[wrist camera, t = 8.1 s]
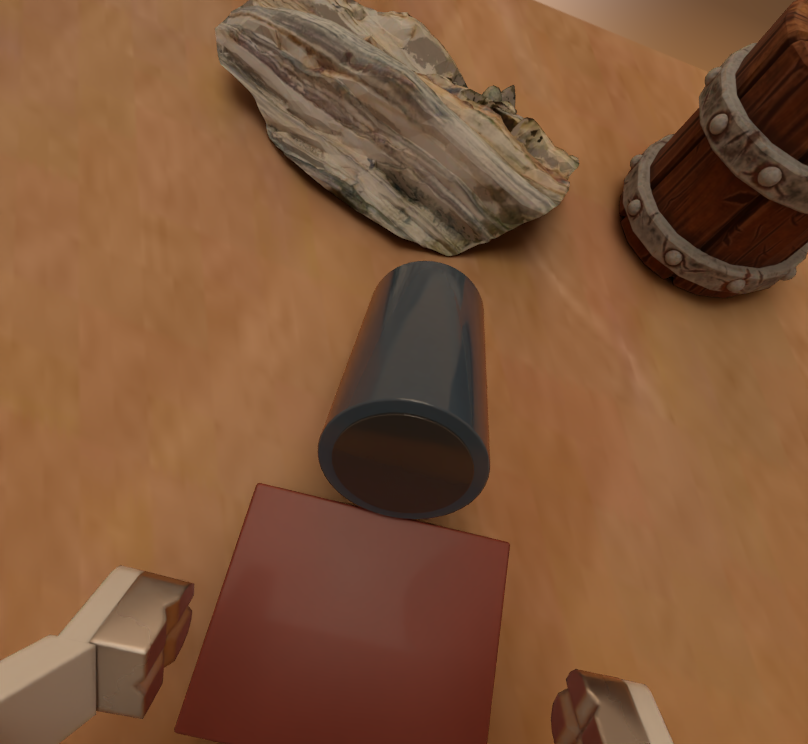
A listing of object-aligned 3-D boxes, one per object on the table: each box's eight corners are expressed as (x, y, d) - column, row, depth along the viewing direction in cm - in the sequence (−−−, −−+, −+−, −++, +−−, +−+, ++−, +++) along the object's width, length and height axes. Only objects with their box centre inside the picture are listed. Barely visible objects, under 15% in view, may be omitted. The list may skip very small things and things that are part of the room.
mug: (575, 246, 29) (806, -69, 16) (632, 149, 36) (820, -116, 24) (747, 349, 27) (1143, 97, 15) (769, 226, 35) (1043, -10, 22)
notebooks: (451, 751, 19) (486, 809, 14) (204, 697, 18) (162, 740, 14) (481, 542, 22) (516, 538, 17) (270, 492, 21) (253, 475, 17)
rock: (454, 320, 29) (581, 172, 33) (495, 279, 23) (648, 99, 27) (175, 77, 29) (335, -45, 33) (131, -39, 22) (339, -175, 26)
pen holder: (464, 371, 25) (460, 536, 17) (362, 345, 25) (308, 500, 17) (499, 277, 21) (516, 428, 13) (382, 246, 21) (326, 381, 13)
